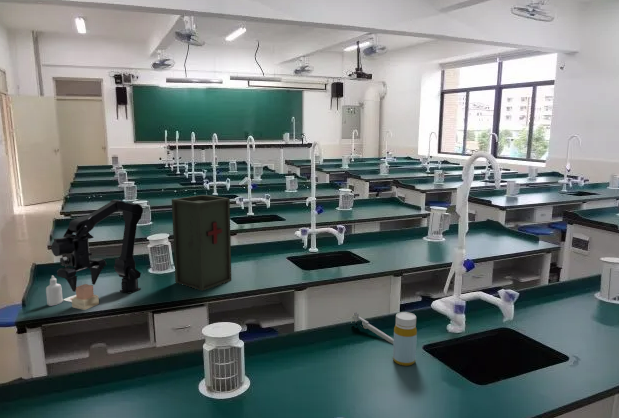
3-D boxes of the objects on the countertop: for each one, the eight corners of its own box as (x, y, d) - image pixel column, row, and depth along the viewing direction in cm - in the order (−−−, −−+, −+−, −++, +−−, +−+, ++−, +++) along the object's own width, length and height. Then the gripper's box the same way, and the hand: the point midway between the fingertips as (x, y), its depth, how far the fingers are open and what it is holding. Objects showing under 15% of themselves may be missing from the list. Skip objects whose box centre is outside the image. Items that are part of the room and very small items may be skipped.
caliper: (351, 327, 169) (351, 311, 168) (353, 326, 170) (353, 310, 169) (396, 346, 154) (397, 328, 153) (398, 345, 155) (399, 327, 154)
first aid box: (205, 273, 230) (202, 194, 224) (231, 280, 220) (229, 198, 213) (175, 283, 216) (171, 199, 209) (202, 291, 205) (199, 203, 198)
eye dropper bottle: (47, 303, 190) (44, 275, 188) (62, 300, 192) (60, 273, 190) (47, 306, 186) (44, 278, 184) (63, 304, 189) (60, 276, 187)
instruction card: (78, 294, 200) (78, 293, 200) (88, 296, 198) (88, 295, 198) (62, 300, 193) (62, 299, 193) (72, 302, 191) (72, 301, 191)
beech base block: (86, 302, 192) (86, 292, 191) (99, 304, 189) (98, 295, 189) (72, 307, 186) (71, 298, 185) (84, 310, 183) (83, 301, 182)
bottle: (401, 368, 139) (403, 322, 137) (388, 358, 146) (390, 313, 143) (419, 363, 142) (422, 318, 140) (406, 354, 148) (408, 310, 146)
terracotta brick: (93, 295, 188) (92, 285, 187) (84, 299, 184) (83, 288, 183) (85, 294, 190) (85, 283, 189) (76, 297, 186) (75, 287, 185)
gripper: (86, 243, 195) (89, 278, 198) (46, 253, 178) (49, 292, 181) (105, 246, 191) (108, 282, 193) (65, 257, 174) (69, 296, 176)
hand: (84, 287), depth 186 cm, fingers open, 9 cm apart
